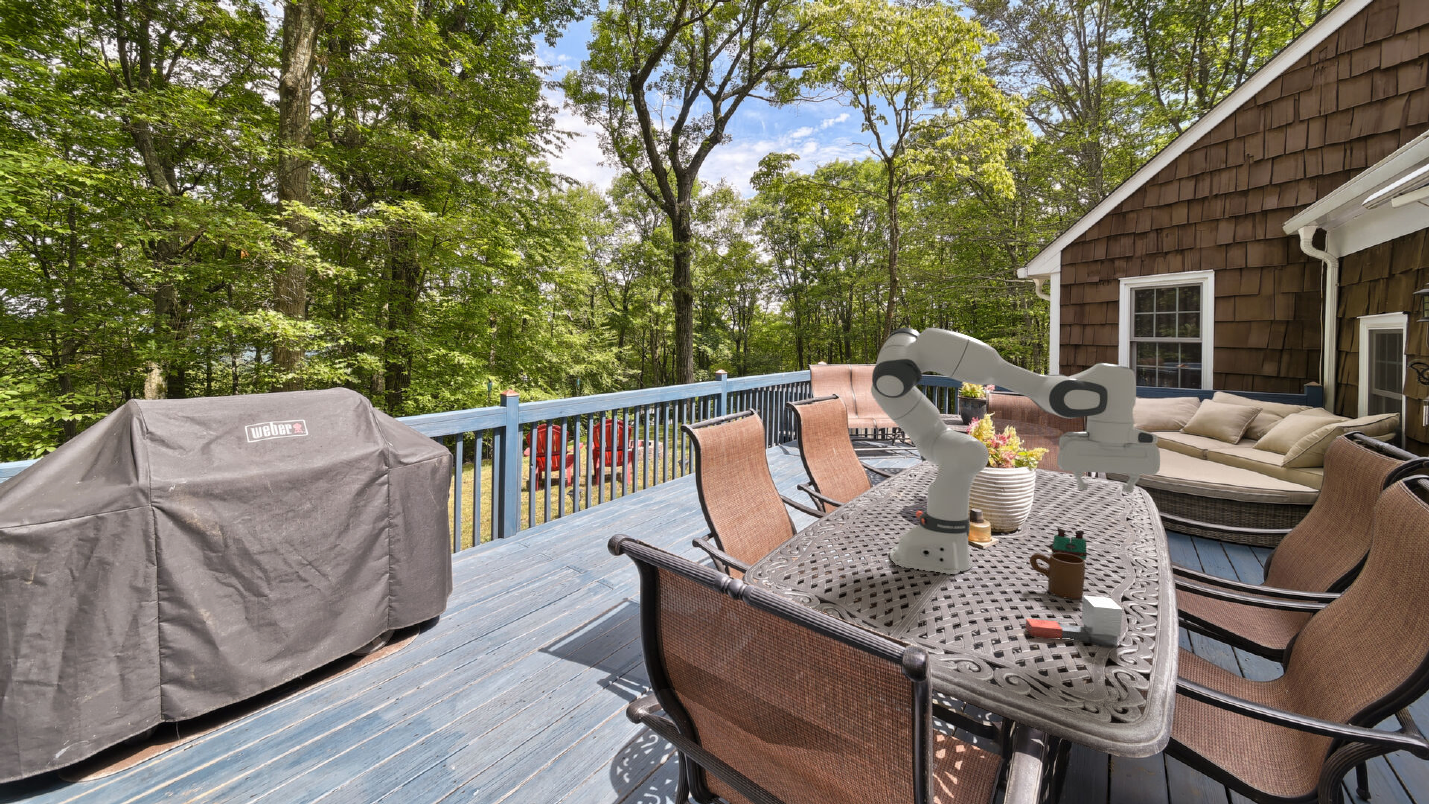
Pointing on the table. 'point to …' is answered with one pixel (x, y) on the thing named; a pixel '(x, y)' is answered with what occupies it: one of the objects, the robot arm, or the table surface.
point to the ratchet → (1068, 632)
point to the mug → (1062, 573)
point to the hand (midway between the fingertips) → (1104, 490)
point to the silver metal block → (1101, 615)
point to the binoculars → (1069, 544)
